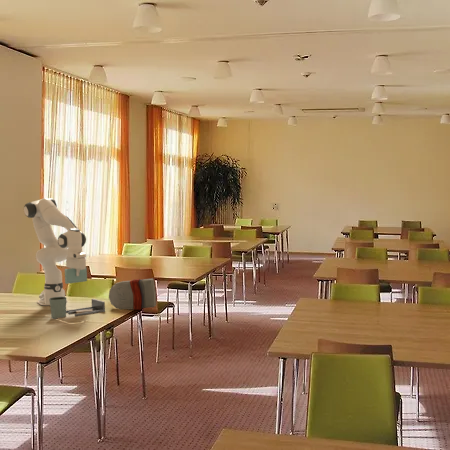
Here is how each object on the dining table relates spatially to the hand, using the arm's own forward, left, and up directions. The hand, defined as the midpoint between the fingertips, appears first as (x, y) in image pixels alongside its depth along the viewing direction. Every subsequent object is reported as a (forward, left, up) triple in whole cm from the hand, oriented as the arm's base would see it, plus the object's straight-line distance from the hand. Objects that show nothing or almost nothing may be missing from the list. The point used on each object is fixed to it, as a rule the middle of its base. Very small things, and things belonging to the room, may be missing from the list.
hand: (75, 275), depth 418 cm
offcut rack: (+8, +1, -23) cm, 25 cm away
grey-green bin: (+9, -17, -23) cm, 30 cm away
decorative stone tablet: (+18, +30, -23) cm, 42 cm away
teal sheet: (0, 0, -4) cm, 4 cm away
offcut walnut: (+11, -1, -22) cm, 25 cm away
